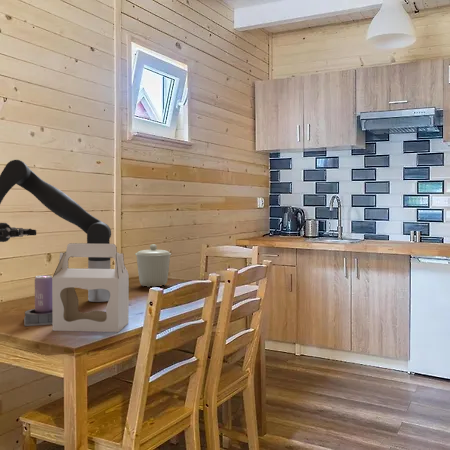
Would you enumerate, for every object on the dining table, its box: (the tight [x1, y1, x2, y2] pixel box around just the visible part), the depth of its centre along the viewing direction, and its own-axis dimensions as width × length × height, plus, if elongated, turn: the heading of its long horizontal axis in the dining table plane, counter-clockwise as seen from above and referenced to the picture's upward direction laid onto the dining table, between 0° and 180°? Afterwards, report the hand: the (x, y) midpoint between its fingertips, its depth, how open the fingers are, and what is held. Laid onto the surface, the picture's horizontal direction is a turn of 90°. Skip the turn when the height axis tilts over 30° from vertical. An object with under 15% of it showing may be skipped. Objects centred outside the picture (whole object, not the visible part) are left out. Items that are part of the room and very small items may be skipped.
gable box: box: [51, 242, 130, 333], centre depth 175 cm, size 22×13×28 cm, turn 86°
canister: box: [134, 243, 172, 288], centre depth 264 cm, size 18×18×21 cm
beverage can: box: [34, 274, 53, 314], centre depth 184 cm, size 6×6×15 cm
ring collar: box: [23, 308, 53, 327], centre depth 183 cm, size 12×12×4 cm
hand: (27, 233), depth 199 cm, fingers open, 8 cm apart
